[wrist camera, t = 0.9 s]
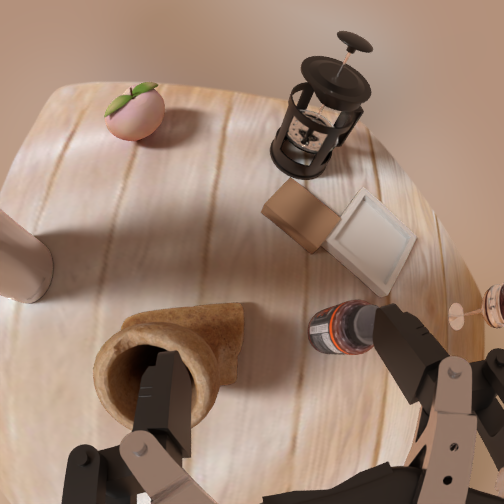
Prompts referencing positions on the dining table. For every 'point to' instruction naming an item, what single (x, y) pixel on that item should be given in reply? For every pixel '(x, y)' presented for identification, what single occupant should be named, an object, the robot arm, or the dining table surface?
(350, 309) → the supplement bottle
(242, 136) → the dining table surface
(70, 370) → the dining table surface
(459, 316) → the wineglass
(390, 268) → the tray
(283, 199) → the brown block
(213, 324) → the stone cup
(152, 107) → the decorative fruit
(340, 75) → the french press
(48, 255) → the robot arm
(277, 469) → the dining table surface
